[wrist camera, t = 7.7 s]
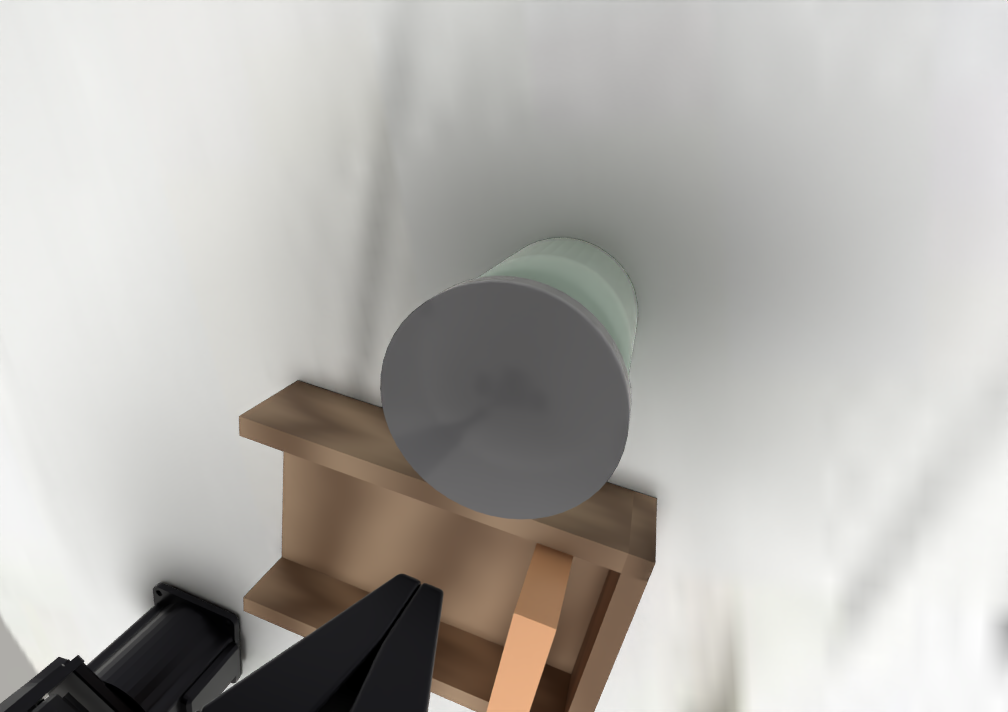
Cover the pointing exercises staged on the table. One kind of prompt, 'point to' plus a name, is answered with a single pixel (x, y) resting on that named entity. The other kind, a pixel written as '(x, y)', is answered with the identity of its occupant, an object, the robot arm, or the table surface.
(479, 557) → the brown wooden tray
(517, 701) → the tan wooden beam
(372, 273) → the table surface
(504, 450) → the jar
